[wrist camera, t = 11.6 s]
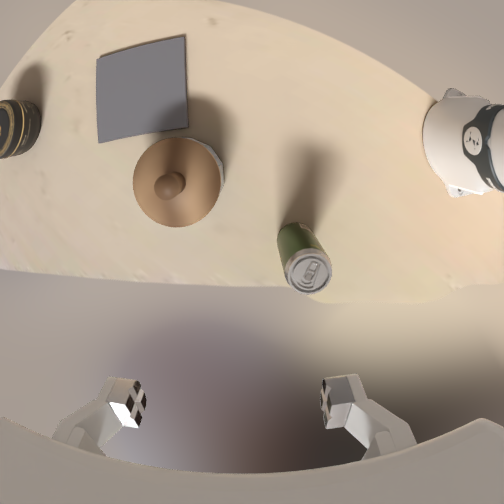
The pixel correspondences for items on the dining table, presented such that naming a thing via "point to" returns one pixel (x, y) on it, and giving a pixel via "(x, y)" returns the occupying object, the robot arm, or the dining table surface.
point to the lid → (176, 182)
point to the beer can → (303, 259)
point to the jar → (18, 127)
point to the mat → (142, 90)
